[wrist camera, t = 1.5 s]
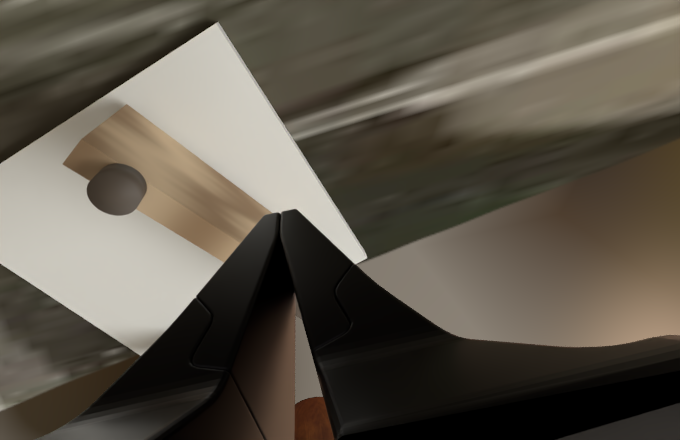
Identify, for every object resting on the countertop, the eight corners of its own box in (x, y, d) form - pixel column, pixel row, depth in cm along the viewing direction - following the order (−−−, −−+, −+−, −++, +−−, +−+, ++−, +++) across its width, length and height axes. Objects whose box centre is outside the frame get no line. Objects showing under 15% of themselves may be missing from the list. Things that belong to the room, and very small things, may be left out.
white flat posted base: (218, 21, 17) (191, 36, 12) (364, 251, 27) (391, 324, 21) (-65, 205, 20) (-204, 294, 14) (159, 357, 29) (130, 449, 23)
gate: (329, 252, 24) (343, 319, 19) (310, 267, 25) (320, 337, 20) (129, 100, 17) (71, 144, 12) (108, 126, 18) (45, 179, 13)
